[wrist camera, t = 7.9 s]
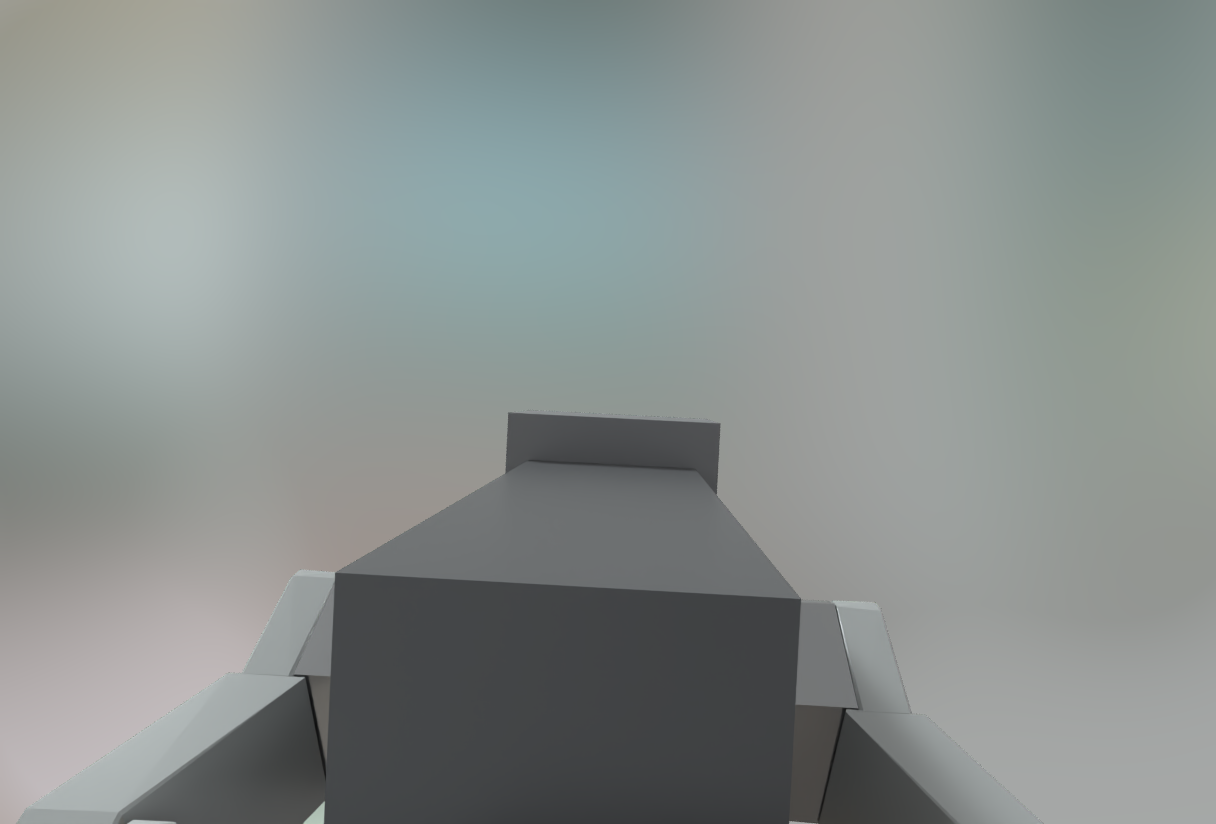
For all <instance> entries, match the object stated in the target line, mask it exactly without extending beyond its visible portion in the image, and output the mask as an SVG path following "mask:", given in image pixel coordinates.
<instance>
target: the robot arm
mask: <svg viewBox="0 0 1216 824" xmlns="http://www.w3.org/2000/svg"><path fill="white" fill-rule="evenodd" d="M334 587H335V572H324V571H312V570H299V571H298V572H297V573H296V574H295V575H294V576H292V577H291V578H290V580H289V582H288V584H287V586H286V588H285V590H284V592H283V594H282V596H281V598H280V600H279V602H278V604H277V605H276V607H275V610H274V611H273V613H272V615H271V617H270V619H269V621H268V623H267V625H266V627H265V629H264V631H263V633H262V635H261V637H260V639H259V641H258V642H257V644H256V646H255V648H254V650H253V652H252V654H251V656H250V658H249V660H248V662H247V664H246V666H245V668H244V670H243V672H242V673H227V674H226V675H225V676H223V677H221V678H220V679H218V680H217V681H215V682H214V683H213V684H211V685H210V686H208V687H207V688H205V689H204V690H202V691H201V692H199V693H198V694H196V695H195V696H193V697H192V698H190V699H189V700H187V701H186V702H184V703H183V704H181V705H180V706H179V707H177V708H175V709H174V710H172V711H171V712H169V713H168V714H166V715H165V716H163V717H162V718H160V719H159V720H157V721H156V722H154V723H153V724H152V725H150V726H148V727H147V728H146V729H144V730H142V731H141V732H139V733H138V734H136V735H135V736H133V737H132V738H130V739H129V740H128V741H126V742H125V743H123V744H122V745H120V746H119V747H117V748H116V749H114V750H113V751H111V752H110V753H108V754H107V755H105V756H104V757H102V758H101V759H99V760H98V761H96V762H95V763H93V764H92V765H90V766H89V767H87V768H86V769H84V770H83V771H81V772H80V773H78V774H77V775H76V776H74V777H72V778H71V779H69V780H68V781H67V782H65V783H63V784H62V785H60V786H59V787H57V788H56V789H54V790H53V791H51V792H50V793H49V794H47V795H46V796H44V797H43V798H41V799H40V800H38V801H37V802H35V803H34V804H32V805H31V806H29V807H28V808H26V810H25V811H24V813H23V814H22V816H21V817H20V819H19V820H18V822H17V823H16V824H303V823H304V822H305V821H306V820H307V819H308V818H309V817H310V816H311V815H312V814H313V813H314V812H315V811H316V810H317V809H318V807H319V806H320V805H321V804H322V803H323V802H324V801H325V786H326V764H327V742H328V720H329V697H330V675H331V653H332V631H333V609H334ZM789 821H795V822H805V823H816V824H1044V823H1042V822H1041V821H1040V820H1039V819H1038V818H1037V817H1036V816H1035V815H1034V814H1033V813H1032V812H1031V811H1029V810H1028V809H1027V808H1026V807H1025V806H1024V805H1023V804H1022V803H1021V802H1020V801H1019V800H1018V799H1016V798H1015V797H1014V796H1013V795H1012V794H1011V793H1010V792H1009V791H1008V790H1007V789H1006V788H1005V787H1003V786H1002V785H1001V784H1000V783H999V782H998V781H997V780H996V779H995V778H994V777H992V776H991V775H990V774H989V773H988V772H987V771H986V770H985V769H984V768H983V767H982V766H981V765H979V764H978V763H977V762H976V761H975V760H974V759H973V758H972V757H971V756H970V755H969V754H968V753H967V752H965V751H964V750H963V749H962V748H961V747H960V746H959V745H958V744H957V743H956V742H954V741H953V740H952V739H951V738H950V737H949V736H948V735H947V734H946V733H945V732H944V731H942V729H940V728H939V727H938V726H937V725H936V724H935V723H934V722H933V721H932V720H931V719H930V718H928V717H927V716H926V715H923V714H912V712H911V709H910V705H909V702H908V698H907V695H906V692H905V689H904V685H903V682H902V678H901V675H900V672H899V668H898V664H897V661H896V658H895V654H894V651H893V647H892V644H891V641H890V637H889V634H888V630H887V627H886V624H885V620H884V617H883V614H882V610H881V608H880V607H879V606H878V605H877V604H876V602H855V601H832V602H829V601H819V600H818V601H817V600H801V611H800V629H799V648H798V666H797V685H796V703H795V722H794V740H793V759H792V777H791V796H790V814H789Z"/></svg>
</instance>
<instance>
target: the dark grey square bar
mask: <svg viewBox="0 0 1216 824" xmlns="http://www.w3.org/2000/svg"><path fill="white" fill-rule="evenodd" d="M719 439H720V423H717V422H714V421H711V420H708V419H695V418H676V417H655V416H637V415H617V414H597V413H577V412H558V411H538V410H527V411H518V412H510V413H508V434H507V454H506V473H505V474H504V475H502V476H500V477H499V478H497V479H495V480H493V481H492V482H490V483H488V484H487V485H485V486H483V487H481V488H480V489H478V490H476V491H475V492H473V493H471V494H469V495H468V496H466V497H464V498H463V499H461V500H459V501H457V502H456V503H454V504H452V505H450V506H449V507H447V508H446V509H444V510H442V511H440V512H439V513H437V514H435V515H433V516H432V517H430V518H428V519H426V520H425V521H423V522H421V523H420V524H418V525H416V526H414V527H413V528H411V529H409V530H408V531H406V532H404V533H403V534H401V535H399V536H397V537H396V538H394V539H392V540H390V541H389V542H387V543H385V544H384V545H382V546H380V547H378V548H377V549H375V550H373V551H372V552H370V553H368V554H367V555H365V556H363V557H361V558H360V559H358V560H356V561H354V562H353V563H351V564H349V565H347V566H346V567H344V568H342V569H341V570H339V571H337V572H335V587H334V609H333V631H332V653H331V675H330V697H329V720H328V742H327V764H326V786H325V808H324V824H789V814H790V796H791V777H792V759H793V740H794V722H795V703H796V685H797V666H798V648H799V629H800V611H801V598H800V597H799V596H798V595H797V594H796V592H795V591H794V590H793V588H792V587H791V586H790V585H789V583H788V582H787V581H786V580H785V579H784V578H783V576H782V575H781V574H780V573H779V571H778V570H777V569H776V568H775V566H774V565H773V564H772V563H771V561H770V560H769V559H768V558H767V557H766V555H765V554H764V553H763V552H762V550H761V549H760V548H759V547H758V546H757V544H756V543H755V542H754V541H753V539H752V538H751V537H750V536H749V534H748V533H747V532H746V531H745V529H744V528H743V527H742V526H741V525H740V523H739V522H738V521H737V520H736V518H735V517H734V516H733V515H732V513H731V512H730V511H729V510H728V509H727V507H726V506H725V505H724V504H723V502H722V501H721V500H720V499H719V498H718V496H717V495H716V494H717V478H718V458H719Z"/></svg>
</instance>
